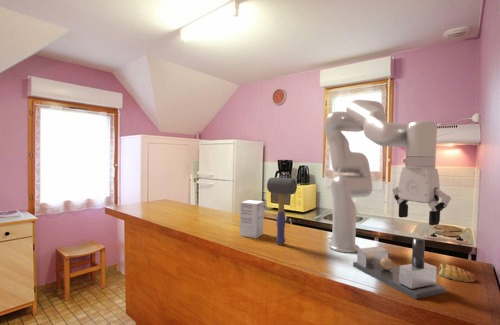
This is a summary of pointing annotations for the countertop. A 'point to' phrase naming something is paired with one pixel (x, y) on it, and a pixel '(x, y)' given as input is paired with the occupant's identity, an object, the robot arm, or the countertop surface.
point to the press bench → (390, 273)
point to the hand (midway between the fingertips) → (417, 220)
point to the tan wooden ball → (386, 264)
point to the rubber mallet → (281, 201)
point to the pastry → (456, 273)
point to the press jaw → (417, 268)
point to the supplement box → (251, 218)
